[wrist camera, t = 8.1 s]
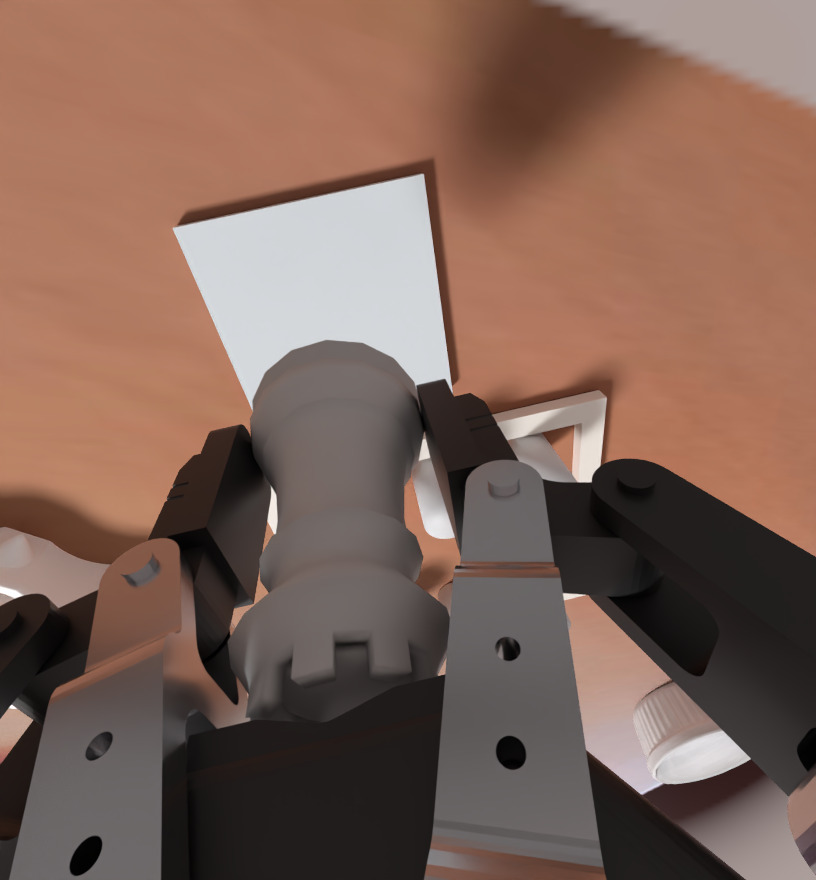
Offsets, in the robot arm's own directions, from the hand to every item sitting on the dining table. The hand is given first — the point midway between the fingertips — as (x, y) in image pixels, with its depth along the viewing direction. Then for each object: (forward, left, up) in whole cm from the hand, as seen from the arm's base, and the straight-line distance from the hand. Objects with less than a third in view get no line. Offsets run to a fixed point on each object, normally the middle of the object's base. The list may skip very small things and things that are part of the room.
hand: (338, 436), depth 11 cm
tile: (0, 0, -9) cm, 9 cm away
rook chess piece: (0, 0, -1) cm, 1 cm away
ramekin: (+23, -45, -9) cm, 52 cm away
